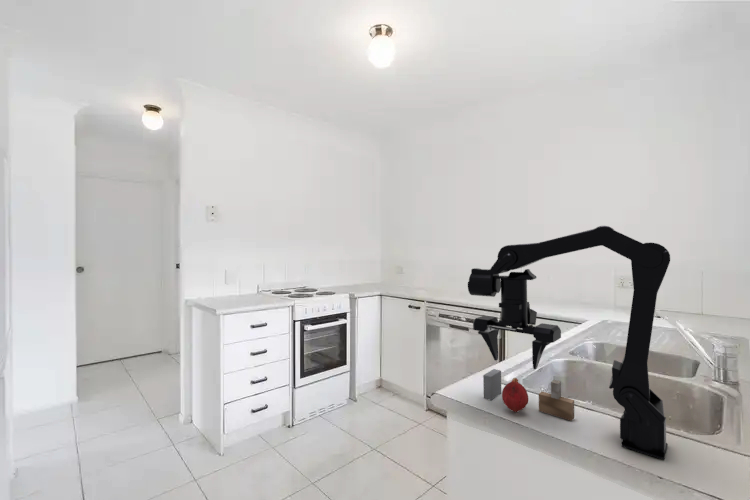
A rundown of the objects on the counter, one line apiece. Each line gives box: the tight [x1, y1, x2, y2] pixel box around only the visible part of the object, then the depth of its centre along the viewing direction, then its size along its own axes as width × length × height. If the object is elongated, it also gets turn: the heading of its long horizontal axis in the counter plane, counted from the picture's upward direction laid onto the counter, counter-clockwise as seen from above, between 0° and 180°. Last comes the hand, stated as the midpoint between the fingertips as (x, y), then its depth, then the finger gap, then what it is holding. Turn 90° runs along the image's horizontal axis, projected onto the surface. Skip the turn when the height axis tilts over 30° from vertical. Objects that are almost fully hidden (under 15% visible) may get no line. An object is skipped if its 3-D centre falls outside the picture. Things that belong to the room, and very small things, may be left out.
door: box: [538, 379, 575, 422], centre depth 81 cm, size 7×2×8 cm, turn 46°
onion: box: [501, 377, 529, 413], centre depth 82 cm, size 6×6×8 cm
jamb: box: [482, 368, 502, 401], centre depth 92 cm, size 2×6×6 cm, turn 136°
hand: (515, 364), depth 82 cm, fingers open, 9 cm apart
